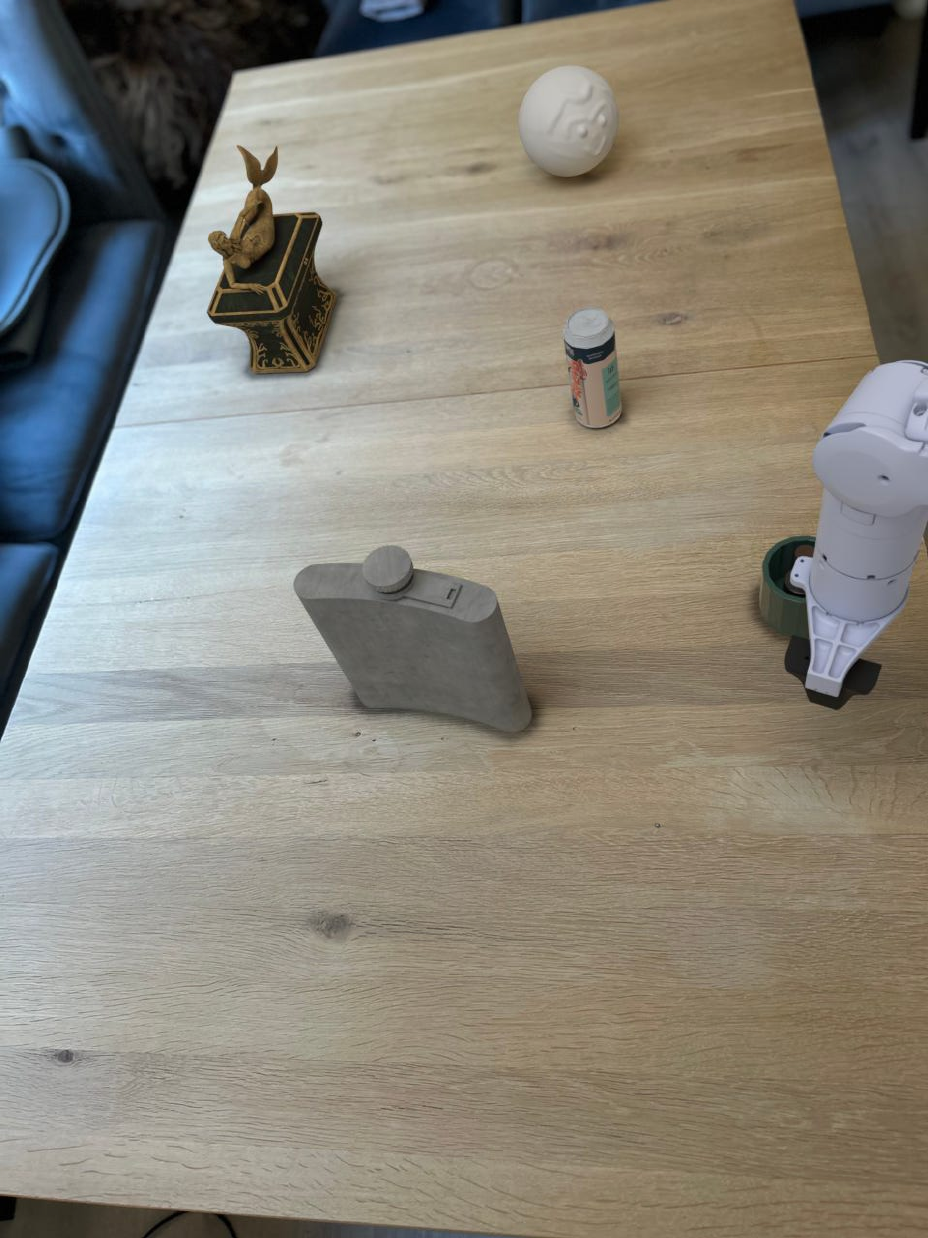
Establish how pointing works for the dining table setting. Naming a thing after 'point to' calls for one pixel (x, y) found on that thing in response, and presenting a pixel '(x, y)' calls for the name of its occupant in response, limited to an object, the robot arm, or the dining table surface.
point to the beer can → (593, 367)
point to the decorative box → (272, 280)
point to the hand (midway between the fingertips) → (840, 656)
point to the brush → (787, 586)
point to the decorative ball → (568, 120)
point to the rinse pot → (774, 603)
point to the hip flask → (417, 638)
